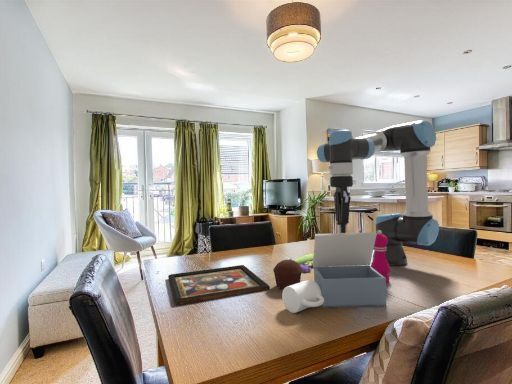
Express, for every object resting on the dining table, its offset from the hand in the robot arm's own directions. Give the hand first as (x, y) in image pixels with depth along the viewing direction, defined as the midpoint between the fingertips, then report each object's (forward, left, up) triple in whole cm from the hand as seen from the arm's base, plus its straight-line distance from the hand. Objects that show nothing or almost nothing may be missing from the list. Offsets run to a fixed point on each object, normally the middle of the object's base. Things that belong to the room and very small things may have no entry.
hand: (342, 242), depth 102 cm
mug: (+15, +12, -19) cm, 27 cm away
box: (0, +4, -18) cm, 19 cm away
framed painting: (+48, -15, -19) cm, 54 cm away
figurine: (+3, -36, -19) cm, 41 cm away
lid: (0, 0, -3) cm, 3 cm away
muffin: (+19, -9, -19) cm, 28 cm away
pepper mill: (-18, -13, -19) cm, 29 cm away
